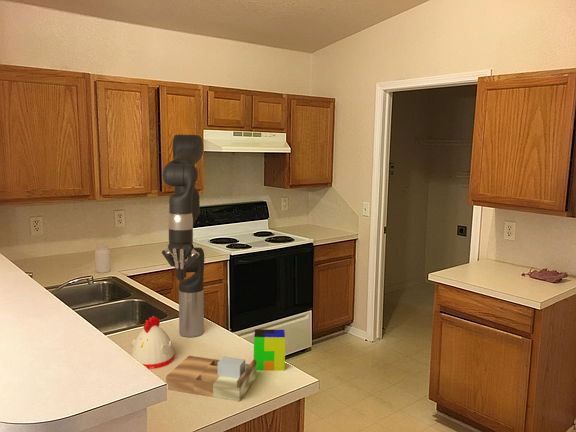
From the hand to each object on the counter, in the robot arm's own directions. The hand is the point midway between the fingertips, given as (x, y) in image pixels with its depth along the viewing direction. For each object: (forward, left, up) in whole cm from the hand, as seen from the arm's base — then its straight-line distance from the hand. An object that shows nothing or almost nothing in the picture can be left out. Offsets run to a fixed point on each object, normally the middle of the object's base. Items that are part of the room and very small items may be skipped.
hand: (181, 279), depth 156 cm
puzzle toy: (-8, +28, -29) cm, 41 cm away
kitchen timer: (+1, -10, -29) cm, 30 cm away
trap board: (+10, +15, -28) cm, 34 cm away
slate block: (+10, +21, -24) cm, 34 cm away
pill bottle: (-90, -94, -29) cm, 133 cm away
